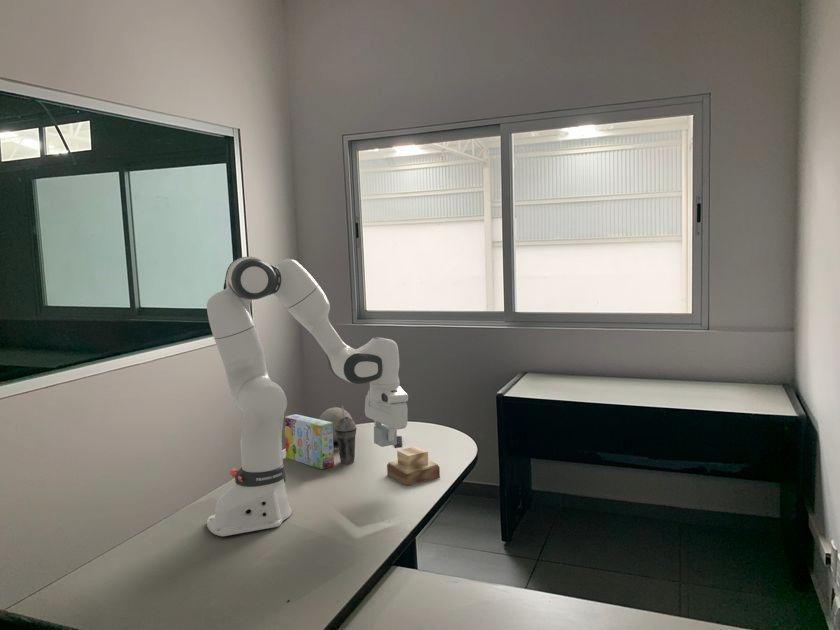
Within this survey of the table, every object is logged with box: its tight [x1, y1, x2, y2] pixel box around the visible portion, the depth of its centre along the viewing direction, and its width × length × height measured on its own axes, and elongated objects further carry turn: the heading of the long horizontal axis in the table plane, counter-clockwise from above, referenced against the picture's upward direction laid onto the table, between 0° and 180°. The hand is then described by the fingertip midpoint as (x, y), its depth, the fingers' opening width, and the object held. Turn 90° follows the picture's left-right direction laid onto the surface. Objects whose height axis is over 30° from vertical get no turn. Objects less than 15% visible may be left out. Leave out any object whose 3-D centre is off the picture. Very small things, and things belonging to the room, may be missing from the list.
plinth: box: [386, 459, 441, 486], centre depth 196 cm, size 12×12×4 cm
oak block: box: [396, 446, 429, 469], centre depth 196 cm, size 7×7×4 cm
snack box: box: [283, 413, 335, 470], centre depth 214 cm, size 21×6×15 cm, turn 47°
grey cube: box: [373, 424, 398, 448], centre depth 186 cm, size 5×5×5 cm
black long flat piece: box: [394, 435, 403, 449], centre depth 230 cm, size 9×25×3 cm, turn 3°
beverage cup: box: [335, 404, 358, 466], centre depth 211 cm, size 7×7×20 cm
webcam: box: [318, 406, 354, 453], centre depth 229 cm, size 13×13×15 cm
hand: (385, 437), depth 186 cm, fingers closed on grey cube, 5 cm apart
